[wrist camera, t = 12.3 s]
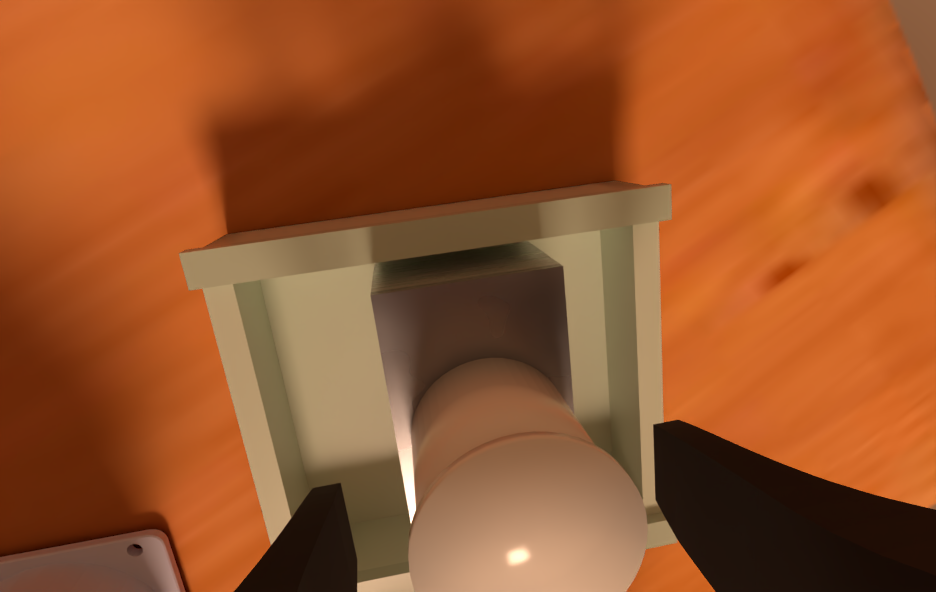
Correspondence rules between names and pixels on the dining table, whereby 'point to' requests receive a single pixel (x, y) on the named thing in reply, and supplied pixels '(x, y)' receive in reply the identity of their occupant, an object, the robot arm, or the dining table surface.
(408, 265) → the tea tin
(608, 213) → the tote
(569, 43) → the dining table surface
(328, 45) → the dining table surface
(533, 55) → the dining table surface
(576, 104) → the dining table surface
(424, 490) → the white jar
